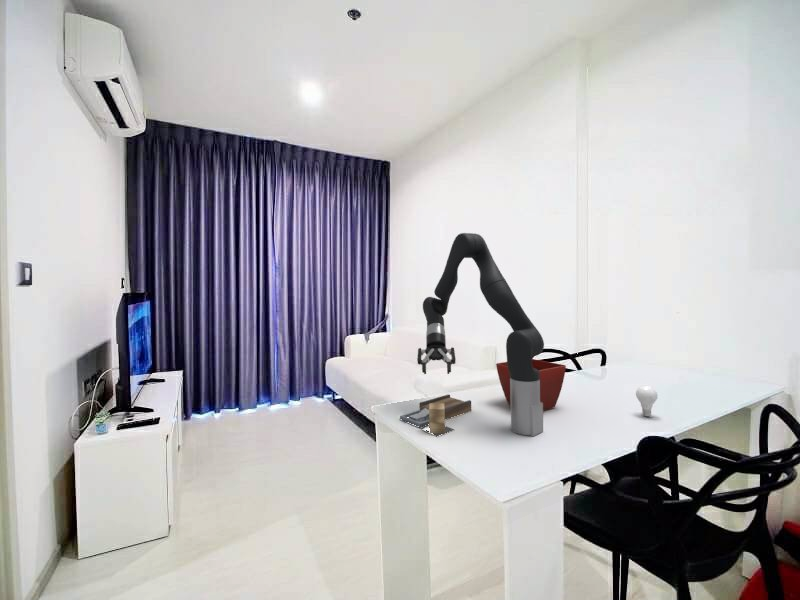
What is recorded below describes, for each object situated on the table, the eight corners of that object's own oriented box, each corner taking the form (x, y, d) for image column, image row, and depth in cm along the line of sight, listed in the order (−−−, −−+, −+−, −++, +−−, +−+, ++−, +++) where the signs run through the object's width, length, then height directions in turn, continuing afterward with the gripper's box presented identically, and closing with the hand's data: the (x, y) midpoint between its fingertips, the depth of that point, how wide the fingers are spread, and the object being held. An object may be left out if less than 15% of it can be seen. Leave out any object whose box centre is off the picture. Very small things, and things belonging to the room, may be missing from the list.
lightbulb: (648, 420, 126) (647, 389, 125) (631, 414, 132) (631, 384, 131) (662, 418, 127) (661, 387, 127) (645, 412, 133) (645, 383, 133)
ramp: (471, 410, 140) (471, 400, 140) (442, 421, 130) (442, 410, 130) (448, 403, 150) (448, 394, 150) (419, 413, 140) (419, 402, 139)
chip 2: (433, 414, 133) (432, 410, 133) (426, 420, 131) (425, 416, 130) (426, 411, 136) (425, 407, 136) (418, 417, 134) (417, 413, 133)
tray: (440, 421, 131) (440, 416, 130) (420, 428, 124) (420, 423, 124) (420, 413, 139) (420, 409, 139) (400, 419, 133) (399, 415, 133)
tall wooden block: (444, 426, 124) (444, 403, 124) (445, 433, 118) (444, 409, 118) (430, 426, 125) (429, 403, 125) (429, 433, 119) (429, 409, 119)
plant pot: (495, 404, 148) (494, 362, 148) (529, 396, 157) (528, 357, 156) (532, 418, 131) (531, 371, 131) (568, 409, 140) (567, 365, 139)
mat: (454, 430, 122) (454, 429, 122) (437, 436, 117) (437, 435, 117) (437, 423, 128) (437, 422, 128) (420, 429, 123) (420, 428, 123)
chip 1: (416, 418, 128) (416, 423, 128) (424, 416, 131) (424, 420, 131) (408, 416, 131) (409, 420, 131) (417, 413, 134) (417, 417, 134)
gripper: (417, 332, 142) (416, 367, 131) (454, 331, 141) (456, 367, 130) (418, 343, 148) (417, 378, 137) (453, 342, 146) (456, 378, 135)
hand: (436, 372), depth 133 cm, fingers open, 8 cm apart
